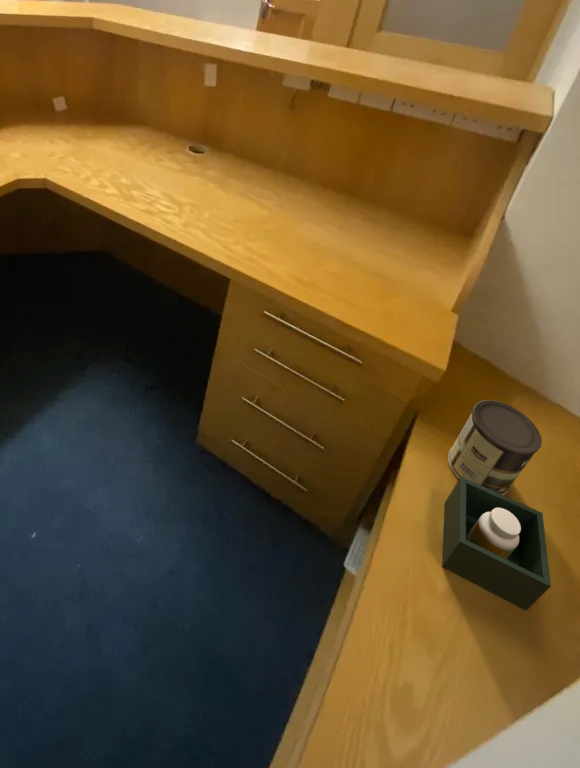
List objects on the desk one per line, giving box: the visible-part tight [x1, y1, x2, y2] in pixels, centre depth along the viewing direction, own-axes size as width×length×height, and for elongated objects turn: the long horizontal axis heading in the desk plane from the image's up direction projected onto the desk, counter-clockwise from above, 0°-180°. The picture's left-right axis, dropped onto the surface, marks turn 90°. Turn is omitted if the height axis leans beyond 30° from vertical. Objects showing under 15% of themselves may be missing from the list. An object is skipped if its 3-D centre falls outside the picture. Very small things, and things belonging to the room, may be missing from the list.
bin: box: [441, 477, 552, 611], centre depth 83 cm, size 12×12×9 cm
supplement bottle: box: [466, 508, 521, 559], centre depth 82 cm, size 5×5×10 cm
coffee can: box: [447, 399, 543, 496], centre depth 93 cm, size 10×10×14 cm
